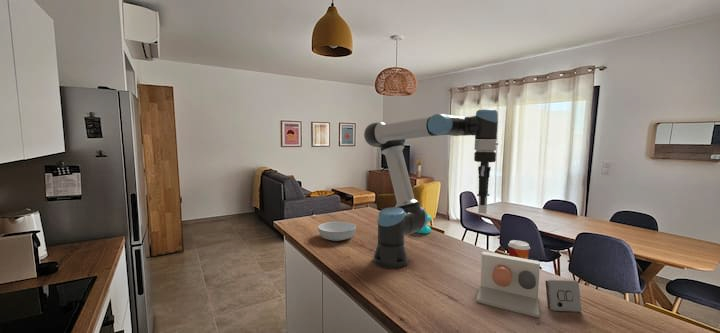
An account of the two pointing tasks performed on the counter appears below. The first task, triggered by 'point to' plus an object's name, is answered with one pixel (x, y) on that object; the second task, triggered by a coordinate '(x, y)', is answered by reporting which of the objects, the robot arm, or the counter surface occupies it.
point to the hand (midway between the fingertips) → (482, 212)
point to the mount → (519, 292)
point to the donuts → (426, 227)
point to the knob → (502, 275)
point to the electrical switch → (563, 295)
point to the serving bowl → (336, 230)
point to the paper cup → (518, 249)
